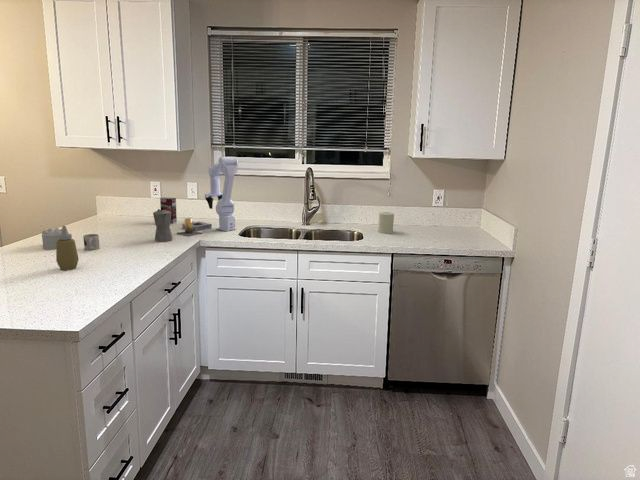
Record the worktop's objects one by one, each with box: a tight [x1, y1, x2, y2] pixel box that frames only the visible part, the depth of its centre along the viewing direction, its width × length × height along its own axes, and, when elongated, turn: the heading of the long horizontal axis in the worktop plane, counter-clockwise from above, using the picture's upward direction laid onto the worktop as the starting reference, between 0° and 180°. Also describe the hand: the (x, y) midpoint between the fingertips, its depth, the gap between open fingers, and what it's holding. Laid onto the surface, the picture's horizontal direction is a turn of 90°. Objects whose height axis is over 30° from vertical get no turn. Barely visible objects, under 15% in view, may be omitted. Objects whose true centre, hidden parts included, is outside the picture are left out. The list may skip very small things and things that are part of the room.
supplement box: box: [159, 196, 178, 225], centre depth 283 cm, size 9×5×16 cm, turn 73°
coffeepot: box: [152, 206, 173, 243], centre depth 238 cm, size 15×9×18 cm, turn 33°
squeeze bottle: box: [55, 225, 80, 271], centre depth 184 cm, size 8×8×18 cm
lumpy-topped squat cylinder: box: [41, 227, 62, 251], centre depth 219 cm, size 10×13×9 cm
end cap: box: [184, 217, 194, 234], centre depth 255 cm, size 4×4×8 cm
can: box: [377, 211, 395, 235], centre depth 273 cm, size 9×9×12 cm
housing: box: [182, 221, 213, 232], centre depth 270 cm, size 12×12×2 cm
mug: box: [82, 233, 101, 251], centre depth 216 cm, size 10×7×7 cm, turn 21°
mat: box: [176, 230, 203, 237], centre depth 256 cm, size 10×10×1 cm
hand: (215, 207), depth 282 cm, fingers open, 7 cm apart
